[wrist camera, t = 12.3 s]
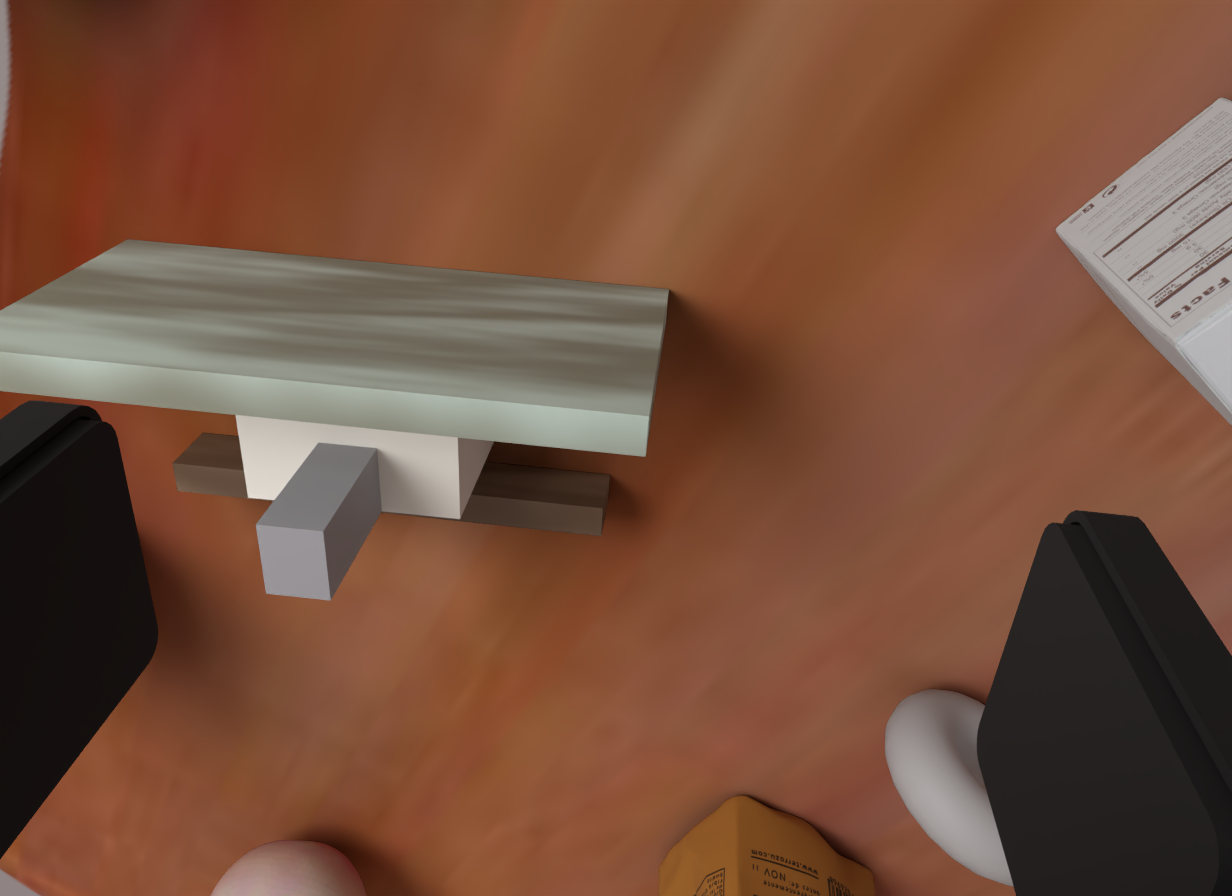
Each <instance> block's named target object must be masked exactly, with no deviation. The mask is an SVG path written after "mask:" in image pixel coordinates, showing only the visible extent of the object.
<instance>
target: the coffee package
mask: <svg viewBox="0 0 1232 896" xmlns="http://www.w3.org/2000/svg"><path fill="white" fill-rule="evenodd" d="M658 879H659V885H658V896H875V890H874V881H873V874H872V873H871V871H870V870H869V869H868V868H866V867H864V866H862V865H860V864H858V863H856V862H854V861H852V860H850V859H847V858H845V857H843V856H841V855H839V854H837V853H836V852H835V851H834V850H833V849H832V848H831V847H830V846H829V844H828V843H827V842H826V841H825V840H824V839H823V838H822V836H821V835H820V834H819V833H818V832H817V831H816V830H815V829H814V828H813V827H812V826H811V825H810V824H808V823H807V822H806V821H804V820H803V819H801V818H799V817H796V816H793V815H790V814H787V813H784V812H780V811H777V810H774V809H771V808H768V807H766V806H765V805H763V804H761V803H759V802H757V801H755V800H754V799H752V798H750V797H747V796H744V795H741V796H735V797H732V798H730V799H728V800H726V801H725V802H724V803H723V804H722V805H721V806H720V807H719V808H718V809H716V810H715V811H714V812H713V813H711V814H710V815H709V816H707V817H706V818H705V819H703V820H702V821H701V822H700V823H698V824H697V825H696V826H695V827H693V828H692V829H691V830H690V832H689V833H688V834H686V835H685V836H684V837H683V838H682V840H681V841H680V842H678V843H677V844H676V845H674V846H673V847H672V849H671V850H670V851H669V852H668V854H667V856H666V857H665V859H664V860H663V862H662V863H661V865H660V866H659V869H658Z"/></svg>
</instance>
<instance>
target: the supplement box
mask: <svg viewBox="0 0 1232 896" xmlns="http://www.w3.org/2000/svg"><path fill="white" fill-rule="evenodd" d="M1056 232H1057V234H1058V235H1059V237H1060V238H1061V239H1062V240H1063V242H1064V243H1065V244H1066V245H1067V247H1068V248H1069V249H1070V250H1071V252H1072V253H1073V254H1074V255H1075V257H1076V258H1077V259H1078V260H1079V262H1080V263H1081V264H1082V265H1083V267H1084V268H1085V269H1086V270H1087V272H1088V273H1089V274H1090V275H1091V277H1092V278H1093V279H1094V280H1095V281H1096V283H1097V284H1098V285H1099V286H1100V288H1101V289H1102V290H1103V291H1104V292H1105V294H1106V295H1107V296H1108V297H1109V298H1110V299H1111V301H1112V302H1113V303H1114V304H1115V305H1116V306H1117V307H1118V308H1119V309H1120V311H1121V312H1122V313H1123V314H1124V315H1125V316H1126V317H1127V318H1128V320H1129V321H1130V322H1131V323H1132V324H1133V325H1134V326H1135V327H1136V328H1137V329H1138V330H1139V331H1140V332H1141V334H1142V335H1143V336H1144V337H1145V338H1146V339H1147V340H1148V341H1149V342H1150V343H1151V344H1152V345H1153V346H1154V347H1155V348H1156V349H1157V350H1158V351H1159V352H1160V353H1161V354H1162V355H1163V356H1164V357H1165V358H1166V359H1167V360H1168V361H1169V362H1170V363H1171V364H1172V365H1173V366H1174V367H1175V368H1176V369H1177V370H1178V371H1179V372H1180V373H1181V374H1182V375H1183V376H1184V377H1185V378H1186V379H1187V380H1188V381H1189V382H1190V383H1191V384H1192V385H1193V386H1194V388H1195V389H1196V390H1197V391H1198V392H1199V393H1200V394H1201V395H1202V396H1203V397H1204V398H1205V399H1206V400H1207V401H1208V402H1209V403H1210V404H1211V405H1212V406H1213V407H1214V408H1215V409H1216V410H1217V411H1218V412H1219V413H1220V414H1221V415H1222V416H1223V417H1224V418H1225V419H1226V420H1227V421H1228V422H1229V423H1230V424H1231V426H1232V101H1231V100H1228V99H1225V98H1219V99H1218V100H1217V101H1216V102H1214V103H1213V104H1212V105H1211V106H1209V107H1208V108H1206V109H1205V110H1204V111H1203V112H1201V113H1200V114H1199V115H1197V116H1196V117H1195V118H1193V119H1192V120H1191V121H1190V122H1188V123H1187V124H1186V125H1184V126H1183V127H1182V128H1181V129H1180V130H1178V131H1177V132H1176V133H1175V134H1173V135H1172V136H1171V137H1169V138H1168V139H1167V140H1165V141H1164V142H1163V143H1162V144H1161V145H1159V146H1158V147H1157V148H1156V149H1154V150H1153V151H1152V152H1151V153H1149V154H1148V155H1147V156H1145V157H1144V158H1143V159H1141V160H1140V161H1139V162H1138V163H1137V164H1135V165H1134V166H1133V167H1131V168H1130V169H1129V170H1128V171H1126V172H1125V173H1124V174H1123V175H1121V176H1120V177H1119V178H1118V179H1116V180H1115V181H1114V182H1113V183H1111V184H1110V185H1109V186H1107V187H1106V188H1105V189H1104V190H1102V191H1101V192H1100V193H1099V194H1097V195H1096V196H1095V197H1094V198H1092V199H1091V200H1090V201H1089V202H1087V203H1086V204H1085V205H1084V206H1083V207H1081V208H1080V209H1079V210H1078V211H1076V212H1075V213H1074V214H1072V215H1071V216H1070V217H1069V218H1067V219H1066V220H1065V221H1064V222H1063V223H1061V224H1060V225H1059V226H1058V227H1057V228H1056Z"/></svg>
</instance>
